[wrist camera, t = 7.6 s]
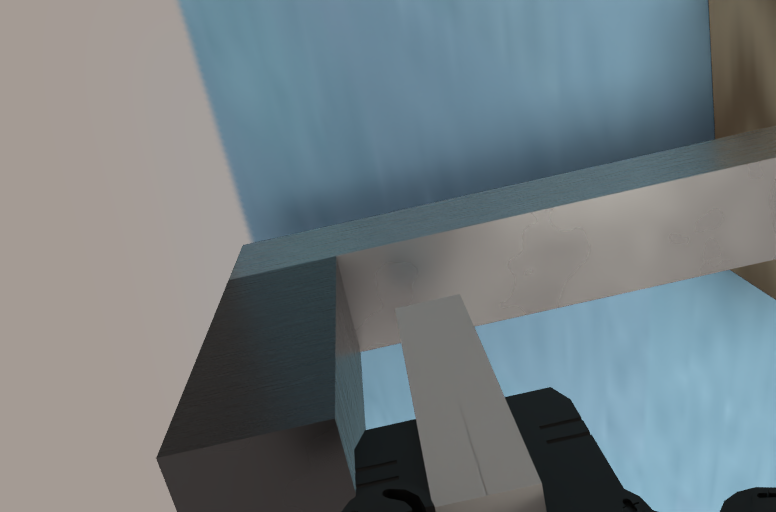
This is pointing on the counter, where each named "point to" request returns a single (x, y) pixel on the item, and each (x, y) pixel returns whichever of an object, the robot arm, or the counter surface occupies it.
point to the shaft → (429, 282)
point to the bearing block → (745, 86)
